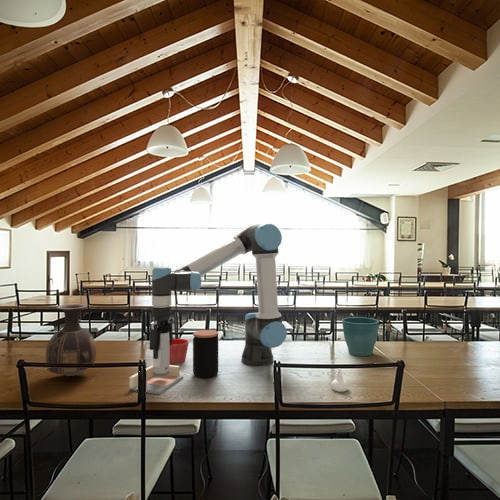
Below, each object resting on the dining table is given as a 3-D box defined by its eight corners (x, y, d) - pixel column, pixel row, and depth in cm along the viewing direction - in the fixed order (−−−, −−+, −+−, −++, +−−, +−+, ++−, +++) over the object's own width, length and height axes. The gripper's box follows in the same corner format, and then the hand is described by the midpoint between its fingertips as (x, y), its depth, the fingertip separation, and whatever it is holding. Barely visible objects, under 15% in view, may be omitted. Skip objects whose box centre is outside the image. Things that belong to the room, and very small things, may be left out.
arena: (183, 378, 157) (183, 366, 157) (159, 394, 140) (159, 380, 140) (155, 375, 161) (155, 363, 161) (129, 390, 144) (129, 377, 144)
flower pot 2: (340, 356, 189) (340, 322, 189) (343, 347, 206) (343, 316, 206) (378, 359, 183) (378, 324, 183) (378, 350, 200) (378, 318, 200)
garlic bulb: (329, 387, 148) (327, 367, 148) (345, 386, 148) (343, 365, 148) (334, 394, 142) (331, 372, 142) (350, 392, 142) (348, 370, 142)
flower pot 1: (183, 365, 174) (183, 344, 174) (161, 364, 176) (161, 343, 176) (191, 359, 185) (191, 339, 185) (170, 358, 187) (170, 338, 187)
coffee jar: (223, 373, 163) (223, 331, 163) (208, 380, 154) (208, 336, 154) (203, 369, 169) (203, 329, 169) (187, 376, 160) (187, 333, 160)
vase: (39, 375, 161) (39, 304, 161) (87, 366, 174) (87, 300, 174) (53, 390, 144) (52, 311, 144) (104, 379, 156) (104, 306, 156)
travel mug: (170, 375, 150) (170, 324, 150) (153, 377, 148) (153, 325, 148) (169, 370, 156) (169, 321, 156) (152, 372, 154) (152, 322, 154)
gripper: (165, 302, 162) (165, 356, 162) (139, 309, 144) (139, 370, 144) (181, 303, 160) (181, 358, 160) (156, 310, 141) (156, 372, 141)
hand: (161, 363), depth 152 cm, fingers closed on travel mug, 6 cm apart
